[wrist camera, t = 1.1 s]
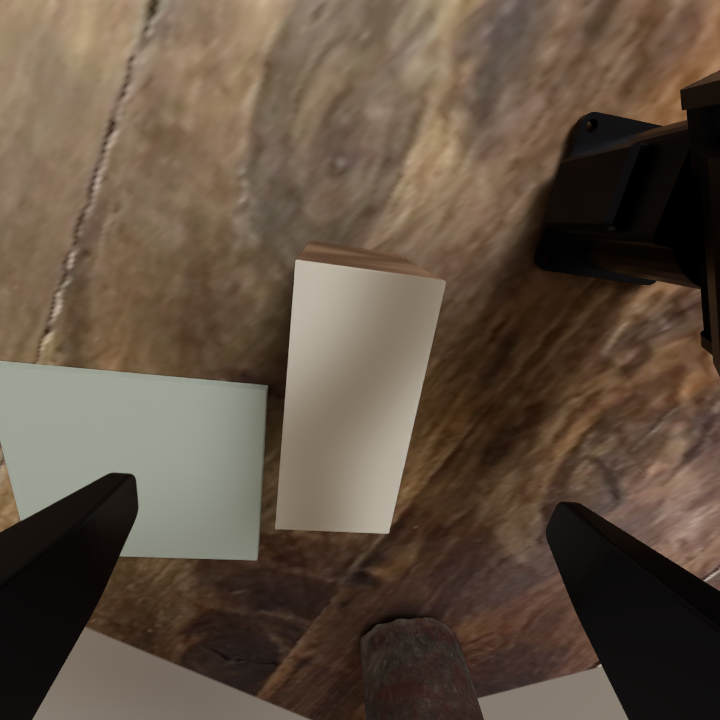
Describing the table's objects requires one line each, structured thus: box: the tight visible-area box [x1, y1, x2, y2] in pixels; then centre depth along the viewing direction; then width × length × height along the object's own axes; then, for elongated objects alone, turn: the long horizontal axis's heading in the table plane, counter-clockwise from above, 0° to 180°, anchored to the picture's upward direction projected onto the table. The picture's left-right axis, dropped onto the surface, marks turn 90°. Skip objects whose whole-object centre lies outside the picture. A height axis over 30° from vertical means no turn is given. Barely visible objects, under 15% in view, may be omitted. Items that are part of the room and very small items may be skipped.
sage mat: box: [0, 361, 268, 560], centre depth 20 cm, size 13×12×1 cm
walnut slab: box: [275, 241, 446, 534], centre depth 15 cm, size 4×9×8 cm, turn 172°
